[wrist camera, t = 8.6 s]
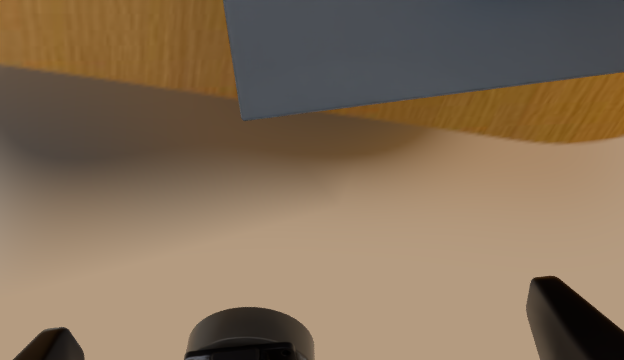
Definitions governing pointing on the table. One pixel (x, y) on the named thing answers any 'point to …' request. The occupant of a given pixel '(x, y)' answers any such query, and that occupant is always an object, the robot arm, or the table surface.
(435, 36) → the lid
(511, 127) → the table surface
